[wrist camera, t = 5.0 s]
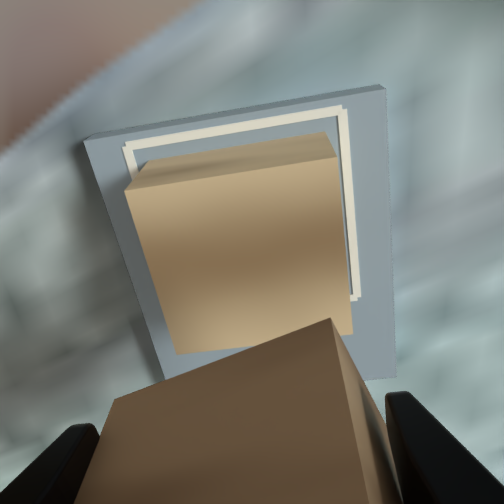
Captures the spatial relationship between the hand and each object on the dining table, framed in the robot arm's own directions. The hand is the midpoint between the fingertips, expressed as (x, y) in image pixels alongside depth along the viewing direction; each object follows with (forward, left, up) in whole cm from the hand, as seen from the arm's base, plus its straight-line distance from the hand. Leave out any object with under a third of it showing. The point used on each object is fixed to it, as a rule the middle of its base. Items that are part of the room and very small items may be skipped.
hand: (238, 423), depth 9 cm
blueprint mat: (-2, 0, -10) cm, 10 cm away
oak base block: (0, 0, -9) cm, 9 cm away
